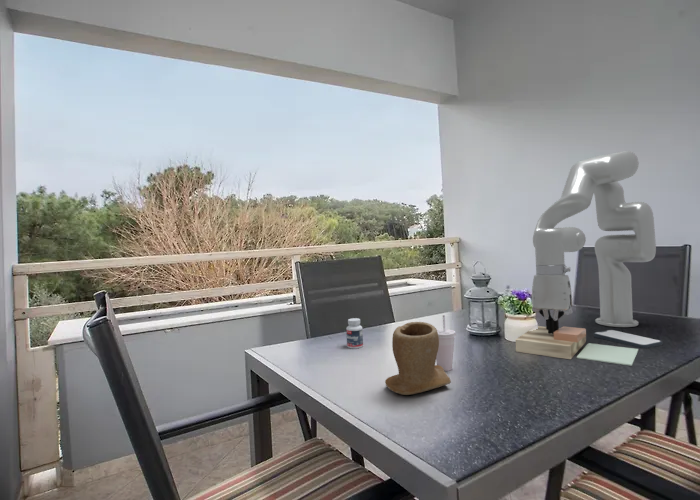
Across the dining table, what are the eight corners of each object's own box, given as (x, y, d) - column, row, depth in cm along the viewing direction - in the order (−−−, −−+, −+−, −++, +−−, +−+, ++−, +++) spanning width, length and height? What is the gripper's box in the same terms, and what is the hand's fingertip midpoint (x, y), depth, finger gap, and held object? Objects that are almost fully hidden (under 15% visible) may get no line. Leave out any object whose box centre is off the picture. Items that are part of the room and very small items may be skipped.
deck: (536, 336, 127) (536, 325, 127) (585, 342, 118) (585, 330, 118) (515, 351, 112) (515, 339, 112) (570, 359, 103) (570, 346, 103)
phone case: (665, 346, 112) (611, 334, 127) (665, 341, 111) (610, 329, 126) (644, 351, 109) (591, 337, 124) (644, 345, 108) (591, 332, 123)
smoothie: (443, 374, 96) (440, 318, 96) (427, 367, 102) (424, 314, 102) (462, 369, 99) (460, 315, 99) (445, 363, 105) (443, 311, 105)
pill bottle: (344, 348, 125) (343, 320, 124) (350, 344, 129) (349, 317, 129) (360, 349, 123) (358, 321, 122) (365, 344, 127) (364, 318, 127)
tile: (563, 332, 116) (563, 326, 116) (586, 335, 112) (585, 328, 112) (553, 339, 110) (553, 332, 110) (577, 342, 106) (577, 335, 106)
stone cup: (405, 405, 80) (402, 333, 79) (379, 386, 91) (376, 322, 90) (465, 391, 85) (462, 323, 85) (434, 375, 96) (431, 315, 96)
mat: (588, 344, 116) (588, 343, 115) (638, 350, 108) (638, 348, 108) (576, 358, 103) (576, 356, 103) (631, 365, 96) (631, 364, 96)
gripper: (582, 269, 112) (584, 333, 112) (527, 269, 122) (530, 327, 122) (576, 272, 106) (578, 338, 107) (519, 271, 116) (522, 332, 117)
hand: (552, 332), depth 114 cm, fingers closed
